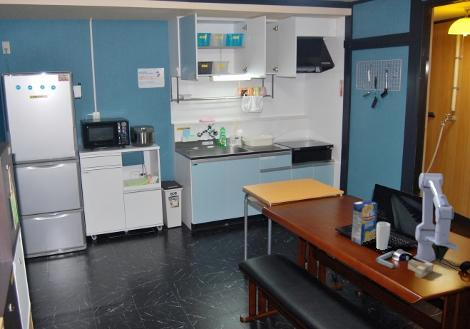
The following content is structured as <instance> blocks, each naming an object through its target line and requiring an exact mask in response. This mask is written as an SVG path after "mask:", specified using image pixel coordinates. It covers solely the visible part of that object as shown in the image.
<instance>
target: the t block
mask: <svg viewBox="0 0 470 329" xmlns="http://www.w3.org/2000/svg"><path fill="white" fill-rule="evenodd" d="M407 269H408V270H410V271H413V272H415V274H414V276H416V277H418V278H421V279H422V278H424V277H425V276H428V275H429V274H431V273H433V272H434V263H432V262H424V263H423V262H420V261H419V260H414V259H409V260H408V262H407Z"/></svg>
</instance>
